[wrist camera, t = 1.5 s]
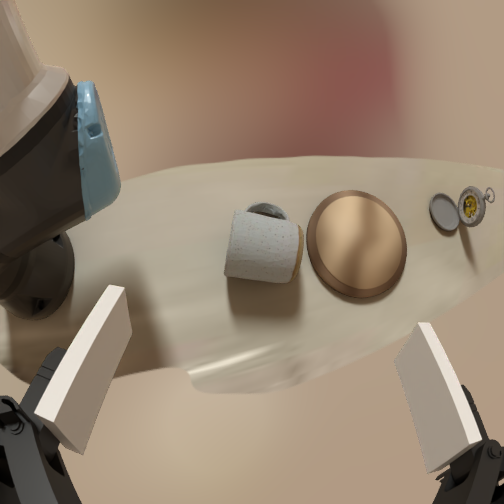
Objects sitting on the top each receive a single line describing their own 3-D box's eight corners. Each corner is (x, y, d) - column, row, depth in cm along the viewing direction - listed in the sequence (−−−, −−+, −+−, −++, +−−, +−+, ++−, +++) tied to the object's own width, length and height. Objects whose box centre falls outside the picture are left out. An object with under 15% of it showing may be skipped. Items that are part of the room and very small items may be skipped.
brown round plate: (301, 290, 37) (303, 289, 35) (310, 184, 40) (312, 180, 39) (402, 302, 37) (406, 301, 36) (401, 204, 41) (405, 201, 40)
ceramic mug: (289, 289, 37) (303, 278, 29) (223, 281, 36) (221, 266, 29) (295, 211, 40) (309, 184, 32) (235, 202, 39) (237, 173, 32)
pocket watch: (421, 204, 41) (457, 176, 32) (446, 185, 43) (479, 159, 33) (447, 247, 40) (487, 227, 30) (469, 224, 41) (506, 204, 32)
